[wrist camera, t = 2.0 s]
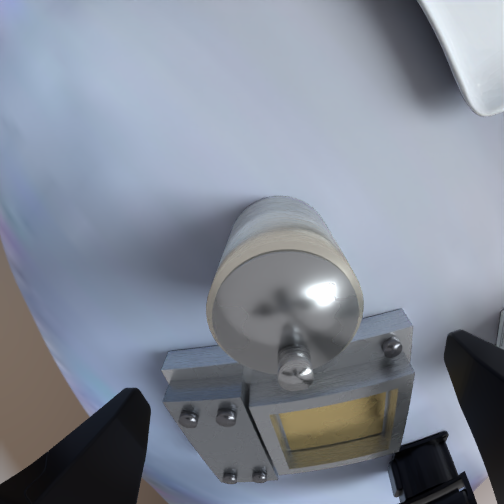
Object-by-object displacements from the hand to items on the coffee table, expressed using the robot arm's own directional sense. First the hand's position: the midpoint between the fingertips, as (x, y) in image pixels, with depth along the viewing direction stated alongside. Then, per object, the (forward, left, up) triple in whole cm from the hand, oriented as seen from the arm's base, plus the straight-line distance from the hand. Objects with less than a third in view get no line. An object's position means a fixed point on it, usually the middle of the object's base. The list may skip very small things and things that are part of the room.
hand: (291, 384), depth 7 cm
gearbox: (+1, +13, -10) cm, 16 cm away
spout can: (0, 0, -10) cm, 10 cm away
